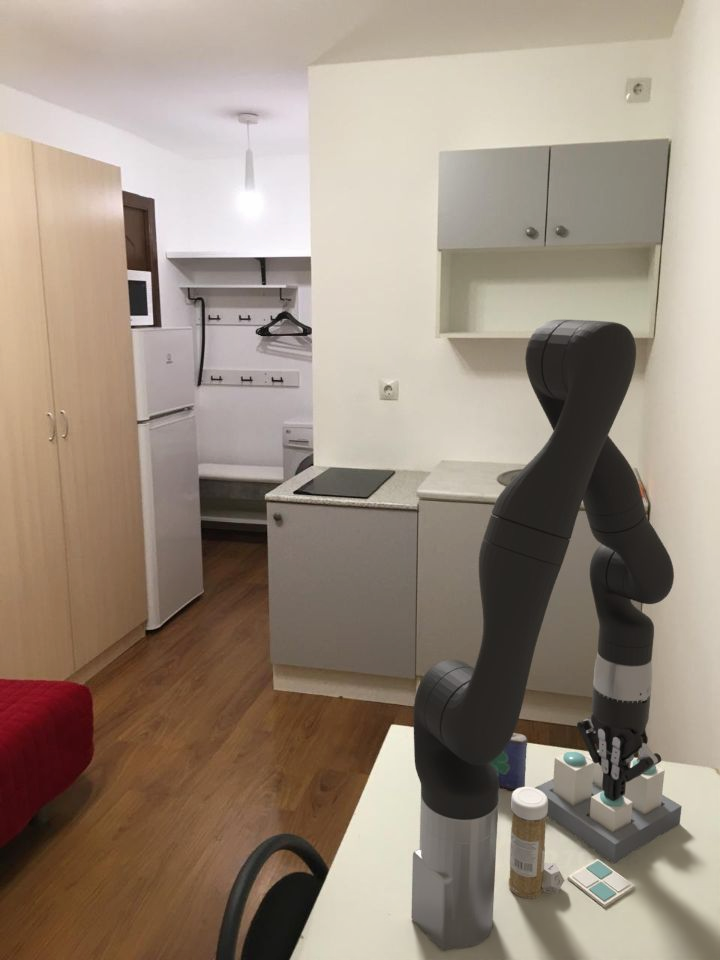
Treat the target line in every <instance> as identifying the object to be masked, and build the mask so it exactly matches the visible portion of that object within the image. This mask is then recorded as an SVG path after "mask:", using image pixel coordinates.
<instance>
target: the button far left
mask: <svg viewBox="0 0 720 960" xmlns="http://www.w3.org/2000/svg"><path fill="white" fill-rule="evenodd" d="M597 752H599V750H597ZM584 756H585V757H586V758H588V759H590V760H591V761H592V758H591V756H590V754H589V753H588V754H587V755H584ZM602 782H603V771H602V769H601V766H600V765H599V764H598V763H594V770H593V783H594V784H595V785H597V786H598V787H600V788H602ZM602 789H603V788H602Z"/></svg>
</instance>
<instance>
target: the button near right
mask: <svg viewBox="0 0 720 960" xmlns="http://www.w3.org/2000/svg"><path fill="white" fill-rule="evenodd" d="M632 803H633V802H632V801H630V800H629V799H627V798H625V797H624V796H622V797H621V798H619V799H617V800H615V801H612V800H610V799H609V798H607V797H606V796H604V791H602V792H600V793H598V794H596V795H594V796H592V797H591V805H590V818H591V819H592V820H594V821H595V822H597V823H598V824H600V825H601V826H603V827H604V828H606V829H607V830H609V831H610V832H612V833H615V832H617V831H618V830H620V829H622V828H624V827H625V826H627V825H629V824H631V814H632Z"/></svg>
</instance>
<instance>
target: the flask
mask: <svg viewBox="0 0 720 960" xmlns="http://www.w3.org/2000/svg"><path fill="white" fill-rule="evenodd" d="M527 748H528V739H527V737H526V735H524V734H522V733H516V732H514V733H513V735H512V738H511V740H510V742H509V743H508V745H507V746H506V748H505V749H504V751H503V752H502V753H501V754H500V755H499V756H498V757H497V758H496V759H494V760H493V761H492V762H490V763H491V765H492V766H493V768H494V770H495V771H496V774H497V776H498V780H499V790H505V791H508V792H511V793H513V792H514V791H515V790H516V789H518V788H521V787H526V771H527V770H526V769H527V768H526V764H527V762H526V761H527Z"/></svg>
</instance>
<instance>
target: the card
mask: <svg viewBox="0 0 720 960" xmlns="http://www.w3.org/2000/svg"><path fill="white" fill-rule="evenodd" d="M567 880H569V881H570V882H571V883H572V884H573V885H575V886H576V887H578V889H580V890H581V891H583V892H584V893H585V894H586V895H588V897H590V898H591V899H593V900H594V901H595V902H596V903H598V904H599V905H601V906H602V907H603V908H606V907H608V906H609V905H610V904H612V903H614V902H615V901H616V900H618V899H620V898H621V897H623V896H625V895H627V894H628V893H629V892H631V891H632V890H634V889H635V884H633V883H632V882H630V881H629V880H628V879H626V878H625V877H623V876H622V875H621V874H619V873H618V872H616V871H615V870H613V869H612V868H611V867H610V866H608V865H607V864H605V863H604V862H603V861H601V860H600V859H598V858H597V859H595V860H592V861H591V862H590V863H588V864H586V865H584V866H582V867H581V868H579V869H578V870H576V871H574V872H572V873H570V874H569V875H567Z"/></svg>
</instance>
